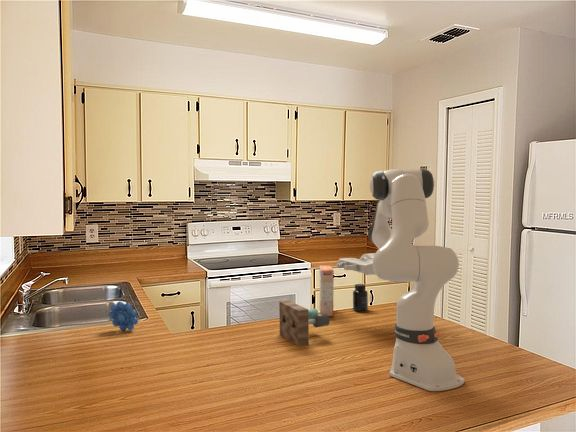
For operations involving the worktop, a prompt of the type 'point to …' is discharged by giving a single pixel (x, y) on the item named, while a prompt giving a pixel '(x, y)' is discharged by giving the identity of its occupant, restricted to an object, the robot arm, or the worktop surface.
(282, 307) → the block
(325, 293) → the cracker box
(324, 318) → the black knob
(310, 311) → the teal knob
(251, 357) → the worktop surface
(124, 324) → the blue gear
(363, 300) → the supplement bottle
